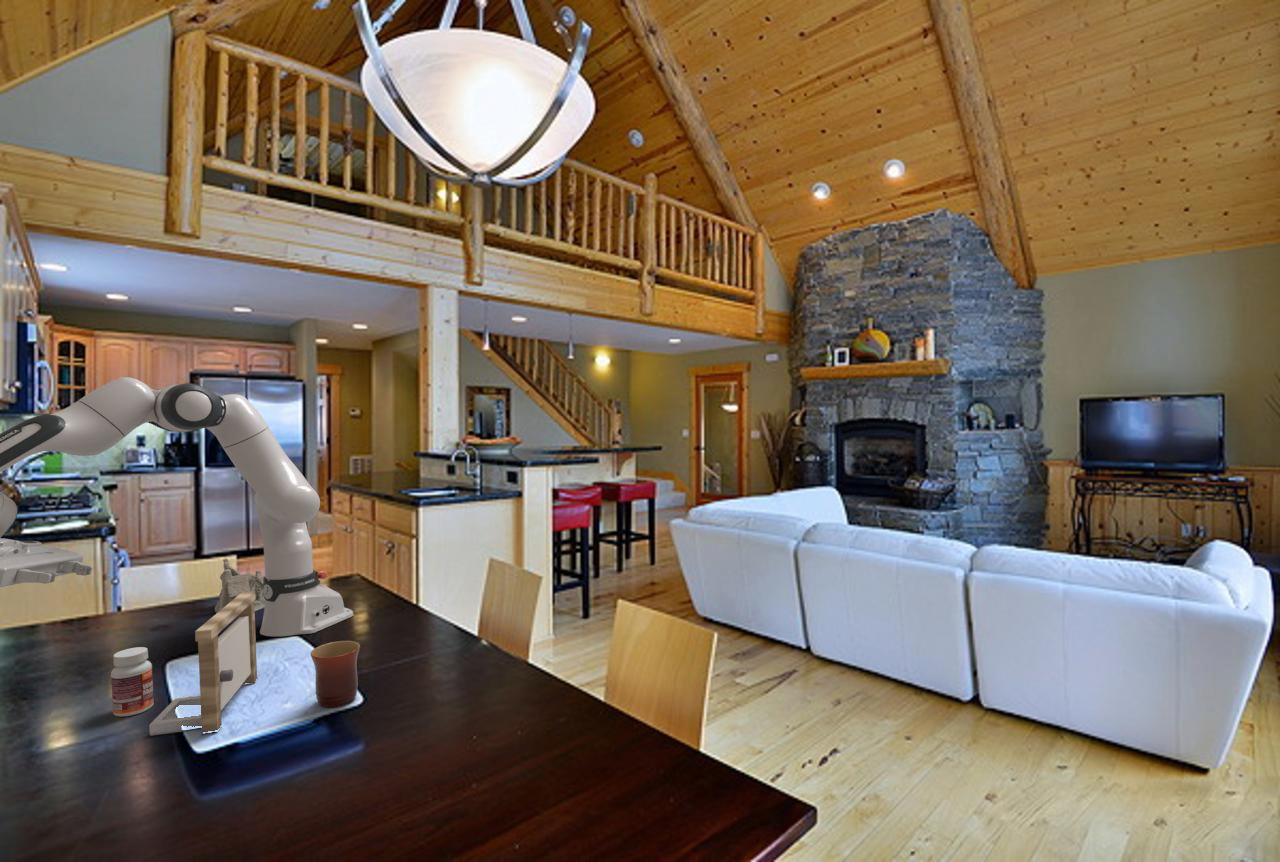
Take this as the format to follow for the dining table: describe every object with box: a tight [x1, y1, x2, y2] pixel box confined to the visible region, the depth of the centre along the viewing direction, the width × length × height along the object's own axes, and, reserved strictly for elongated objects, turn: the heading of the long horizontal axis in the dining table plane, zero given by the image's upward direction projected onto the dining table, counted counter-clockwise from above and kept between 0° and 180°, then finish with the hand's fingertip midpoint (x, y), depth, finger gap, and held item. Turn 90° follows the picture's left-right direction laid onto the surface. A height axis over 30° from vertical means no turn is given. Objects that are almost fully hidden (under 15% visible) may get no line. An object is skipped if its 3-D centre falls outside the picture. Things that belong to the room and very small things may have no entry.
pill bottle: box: [110, 646, 154, 717], centre depth 121 cm, size 6×6×11 cm
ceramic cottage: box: [214, 557, 265, 614], centre depth 185 cm, size 16×16×15 cm
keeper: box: [148, 695, 202, 737], centre depth 118 cm, size 10×9×2 cm
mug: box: [310, 640, 361, 708], centre depth 125 cm, size 12×9×10 cm
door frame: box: [194, 591, 258, 733], centre depth 122 cm, size 25×2×19 cm, turn 16°
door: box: [218, 616, 251, 711], centre depth 123 cm, size 18×3×12 cm, turn 16°
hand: (71, 574), depth 121 cm, fingers open, 8 cm apart
